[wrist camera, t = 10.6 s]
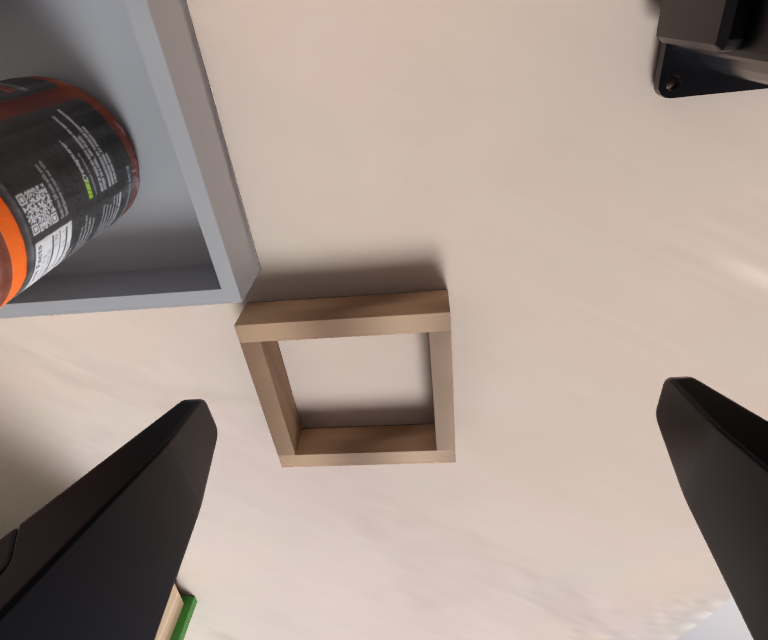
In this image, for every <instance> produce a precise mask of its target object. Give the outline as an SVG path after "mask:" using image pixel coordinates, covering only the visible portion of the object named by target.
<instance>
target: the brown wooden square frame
mask: <svg viewBox="0 0 768 640" xmlns="http://www.w3.org/2000/svg"><path fill="white" fill-rule="evenodd" d="M234 326H235V329H236V332H237V335H238V338H239V341H240V344H241V347H242V350H243V353H244V356H245V359H246V362H247V365H248V368H249V371H250V374H251V377H252V380H253V383H254V385H255V388H256V391H257V394H258V397H259V400H260V403H261V406H262V409H263V412H264V415H265V418H266V421H267V424H268V427H269V430H270V433H271V436H272V439H273V442H274V445H275V448H276V450H277V453H278V456H279V459H280V462H281V465H282V467H309V466H343V465H377V464H411V463H446V462H456V459H455V431H454V404H453V377H452V350H451V322H450V307H449V298H448V290H437V291H422V292H407V293H392V294H377V295H362V296H347V297H332V298H317V299H301V300H286V301H271V302H256V303H247V304H246V305H245V307H244V309H243V311H242V313H241V314H240V316H239V318H238V320H237V322H236V323H235V325H234ZM421 332H429V342H430V357H431V371H432V386H433V401H434V416H435V424H420V425H393V426H367V427H340V428H314V429H302V426H301V423H300V419H299V416H298V412H297V409H296V405H295V402H294V398H293V395H292V391H291V388H290V384H289V381H288V377H287V374H286V370H285V367H284V363H283V360H282V356H281V353H280V349H279V346H278V342H277V341H281V340H299V339H316V338H333V337H351V336H368V335H386V334H403V333H421Z"/></svg>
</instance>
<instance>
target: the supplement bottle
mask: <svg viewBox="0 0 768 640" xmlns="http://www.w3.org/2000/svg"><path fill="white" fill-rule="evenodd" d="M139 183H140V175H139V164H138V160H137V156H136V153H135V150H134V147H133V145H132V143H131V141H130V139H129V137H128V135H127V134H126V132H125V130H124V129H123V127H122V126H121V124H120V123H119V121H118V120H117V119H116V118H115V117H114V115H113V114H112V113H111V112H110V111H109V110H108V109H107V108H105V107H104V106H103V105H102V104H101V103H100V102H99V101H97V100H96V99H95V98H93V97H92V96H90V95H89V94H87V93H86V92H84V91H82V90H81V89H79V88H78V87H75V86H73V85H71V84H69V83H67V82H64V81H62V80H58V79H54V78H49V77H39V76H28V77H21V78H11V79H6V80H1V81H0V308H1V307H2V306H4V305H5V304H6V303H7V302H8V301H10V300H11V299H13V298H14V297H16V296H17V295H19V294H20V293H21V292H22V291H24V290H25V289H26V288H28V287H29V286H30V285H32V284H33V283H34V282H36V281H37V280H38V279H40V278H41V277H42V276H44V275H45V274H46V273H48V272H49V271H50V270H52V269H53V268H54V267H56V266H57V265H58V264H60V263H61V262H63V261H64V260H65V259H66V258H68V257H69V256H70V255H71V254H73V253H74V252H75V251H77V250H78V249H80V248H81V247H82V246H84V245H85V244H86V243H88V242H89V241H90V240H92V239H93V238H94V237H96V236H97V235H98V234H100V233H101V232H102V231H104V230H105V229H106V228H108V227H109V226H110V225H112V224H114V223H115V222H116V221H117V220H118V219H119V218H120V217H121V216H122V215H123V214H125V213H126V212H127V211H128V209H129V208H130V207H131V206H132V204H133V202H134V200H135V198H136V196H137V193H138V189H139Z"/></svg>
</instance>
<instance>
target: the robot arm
mask: <svg viewBox="0 0 768 640" xmlns="http://www.w3.org/2000/svg"><path fill="white" fill-rule="evenodd" d="M657 37H658V38H659V40H660V41H661V48H660V53H659V58H658V64H657V69H656V75H655V80H654V90H655V92H656V93H657V94H658V95H660V96H662V97H665V98H677V97H687V96H696V95H706V94H716V93H726V92H736V91H745V90H755V89H765V88H768V0H662V6H661V11H660V17H659V23H658V28H657ZM673 75H675V76H676V82H675V84H674V85H673V86H672V87H671V88H669V89H667V88H666V82H667V80H668V79H669V78H670V77H671V76H673ZM656 418H657V422H658V425H659V428H660V431H661V434H662V436H663V439H664V442H665V445H666V448H667V451H668V453H669V456H670V459H671V462H672V465H673V468H674V470H675V473H676V476H677V479H678V482H679V484H680V487H681V490H682V492H683V495H684V497H685V499H686V501H687V504H688V506H689V508H690V510H691V512H692V514H693V516H694V518H695V520H696V522H697V525H698V527H699V529H700V531H701V533H702V535H703V537H704V539H705V541H706V543H707V545H708V547H709V549H710V551H711V553H712V555H713V557H714V559H715V561H716V563H717V566H718V568H719V570H720V572H721V574H722V576H723V578H724V580H725V582H726V584H727V586H728V588H729V590H730V592H731V594H732V596H733V598H734V600H735V602H736V604H737V606H738V609H739V611H740V612H741V615H742V617H743V619H744V621H745V623H746V625H747V627H748V629H749V631H750V633H751V635H752V637H753V639H754V640H768V421H766V420H764V419H763V418H761V417H759V416H758V415H756V414H754V413H753V412H751V411H749V410H747V409H746V408H744V407H742V406H741V405H739V404H737V403H736V402H734V401H732V400H731V399H729V398H727V397H725V396H724V395H722V394H720V393H719V392H717V391H715V390H714V389H712V388H710V387H708V386H707V385H705V384H703V383H702V382H700V381H698V380H697V379H695V378H692V377H670V378H668V379H666V380H665V382H664V384H663V388H662V391H661V395H660V398H659V402H658V405H657V409H656ZM216 440H217V427H216V424H215V422H214V420H213V417H212V415H211V413H210V410H209V408H208V406H207V404H206V402H205V401H204V400H202V399H191V400H183V401H181V402H180V403H179V404H177V405H176V406H175V407H173V408H172V409H171V410H169V411H168V412H167V413H165V414H164V415H163V416H162V417H160V418H159V419H158V420H156V421H155V422H154V423H152V424H151V425H150V426H148V427H147V428H146V429H145V430H143V431H142V432H141V433H139V434H138V435H137V436H135V437H134V438H133V439H131V440H130V441H129V442H127V443H126V444H125V445H124V446H122V447H121V448H120V449H118V450H117V451H116V452H114V453H113V454H112V455H110V456H109V457H108V458H107V459H105V460H104V461H103V462H101V463H100V464H99V465H97V466H96V467H95V468H93V469H92V470H91V471H90V472H88V473H87V474H86V475H84V476H83V477H82V478H80V479H79V480H78V481H76V482H75V483H74V484H73V485H71V486H70V487H69V488H67V489H66V490H65V491H63V492H62V493H61V494H59V495H58V496H57V497H55V498H54V499H53V500H52V501H50V502H49V503H48V504H46V505H45V506H44V507H42V508H41V509H40V510H38V511H37V512H36V513H35V514H33V515H32V516H31V517H29V518H28V519H27V520H25V521H24V522H23V523H21V524H20V525H19V528H15V529H13V530H12V531H11V532H10V533H8V534H7V535H6V536H4V537H3V538H2V539H0V640H155V638H156V635H157V632H158V629H159V626H160V623H161V620H162V617H163V615H164V612H165V609H166V606H167V603H168V600H169V597H170V595H171V592H172V589H173V586H174V583H175V580H176V577H177V574H178V572H179V569H180V566H181V563H182V560H183V557H184V554H185V551H186V549H187V546H188V543H189V540H190V537H191V534H192V531H193V529H194V526H195V523H196V520H197V517H198V514H199V511H200V508H201V504H202V500H203V496H204V492H205V488H206V484H207V479H208V475H209V471H210V466H211V462H212V458H213V453H214V449H215V445H216Z"/></svg>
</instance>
